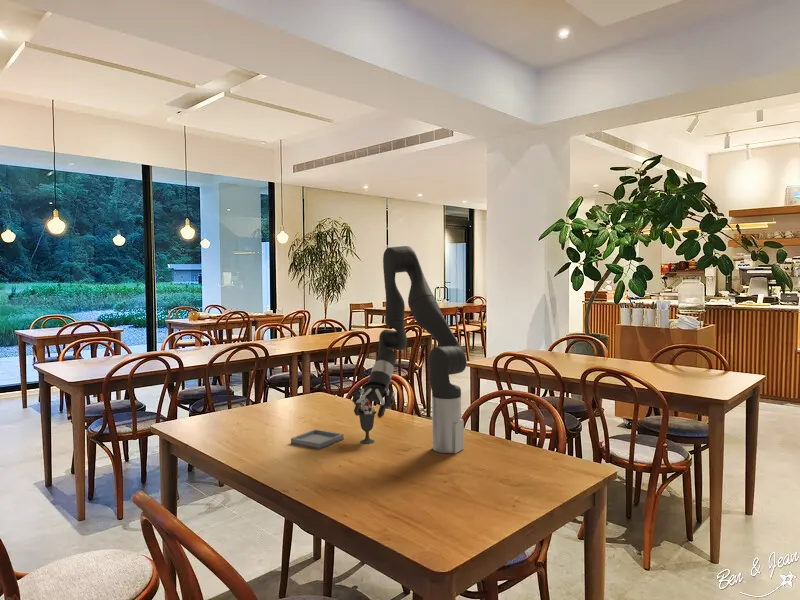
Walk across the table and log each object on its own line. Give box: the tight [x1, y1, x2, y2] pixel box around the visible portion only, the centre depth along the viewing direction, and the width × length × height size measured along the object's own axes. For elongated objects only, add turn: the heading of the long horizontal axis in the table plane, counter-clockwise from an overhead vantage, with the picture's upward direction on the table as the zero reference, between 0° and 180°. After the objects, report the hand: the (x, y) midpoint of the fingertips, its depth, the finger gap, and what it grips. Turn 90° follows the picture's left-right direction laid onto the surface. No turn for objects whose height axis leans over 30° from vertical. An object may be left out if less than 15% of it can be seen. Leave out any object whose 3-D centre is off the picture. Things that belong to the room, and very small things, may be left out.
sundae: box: [357, 397, 377, 445], centre depth 183 cm, size 7×7×15 cm
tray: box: [290, 428, 345, 450], centre depth 185 cm, size 13×13×2 cm
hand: (367, 415), depth 184 cm, fingers open, 8 cm apart
